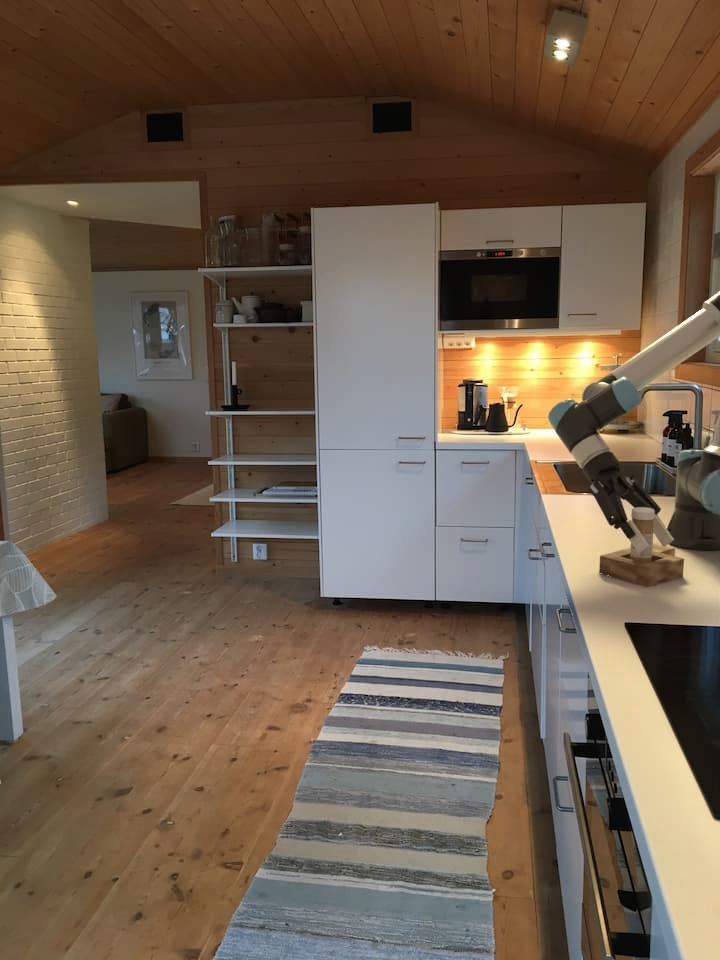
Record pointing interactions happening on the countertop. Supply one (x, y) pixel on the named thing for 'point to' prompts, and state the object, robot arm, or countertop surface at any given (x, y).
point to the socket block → (641, 568)
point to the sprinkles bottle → (643, 532)
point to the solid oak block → (663, 549)
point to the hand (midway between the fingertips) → (656, 546)
